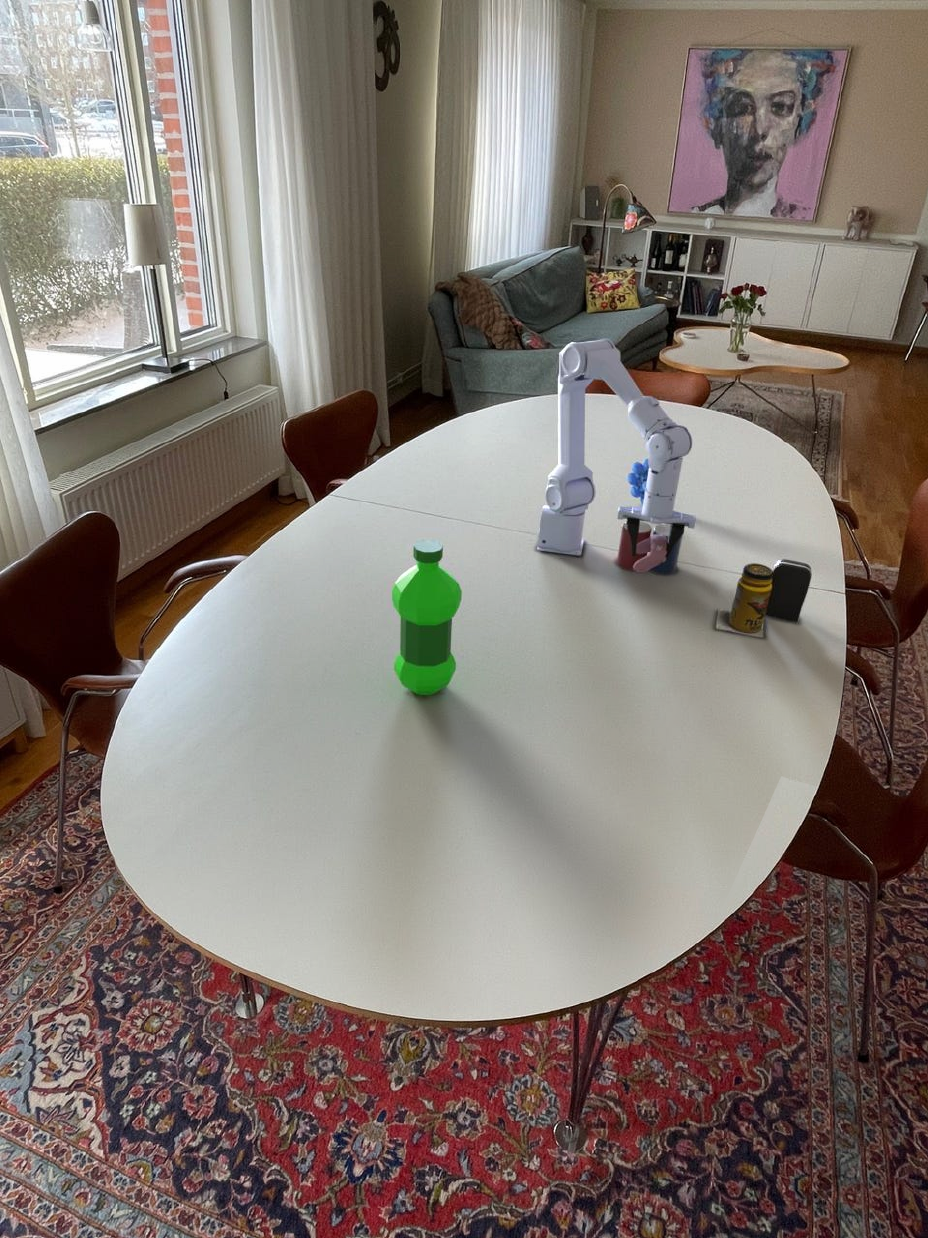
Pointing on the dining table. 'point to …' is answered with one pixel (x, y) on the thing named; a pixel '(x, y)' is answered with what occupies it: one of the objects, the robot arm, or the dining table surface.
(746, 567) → the condiment
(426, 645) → the plastic bottle
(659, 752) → the dining table surface
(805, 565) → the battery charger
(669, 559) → the tin can navy
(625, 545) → the tin can burgundy
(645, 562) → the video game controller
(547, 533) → the robot arm
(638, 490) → the blue flower
